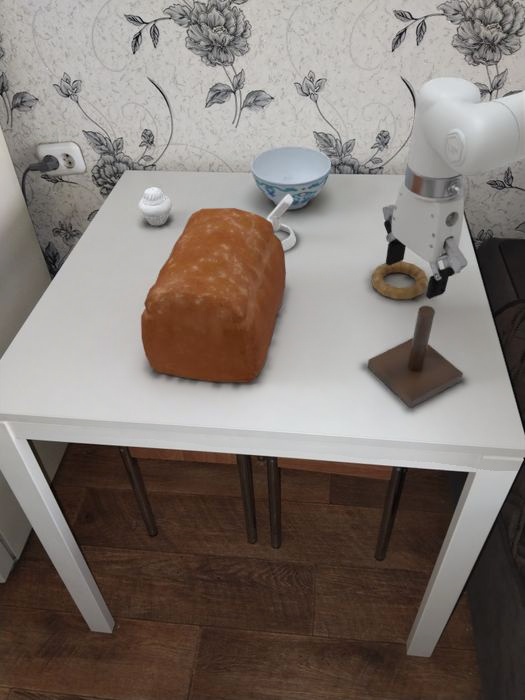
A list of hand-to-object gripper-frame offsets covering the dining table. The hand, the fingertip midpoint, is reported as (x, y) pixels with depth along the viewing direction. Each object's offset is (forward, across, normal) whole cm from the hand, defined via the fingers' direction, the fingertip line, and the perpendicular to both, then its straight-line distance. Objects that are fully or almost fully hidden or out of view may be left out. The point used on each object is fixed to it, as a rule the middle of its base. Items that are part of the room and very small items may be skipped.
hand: (414, 278), depth 92 cm
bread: (+4, +10, +29) cm, 31 cm away
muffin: (+4, +42, +26) cm, 50 cm away
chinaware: (+4, +35, +1) cm, 35 cm away
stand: (+3, -14, +11) cm, 18 cm away
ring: (+2, +3, 0) cm, 4 cm away
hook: (+4, +25, +11) cm, 27 cm away
